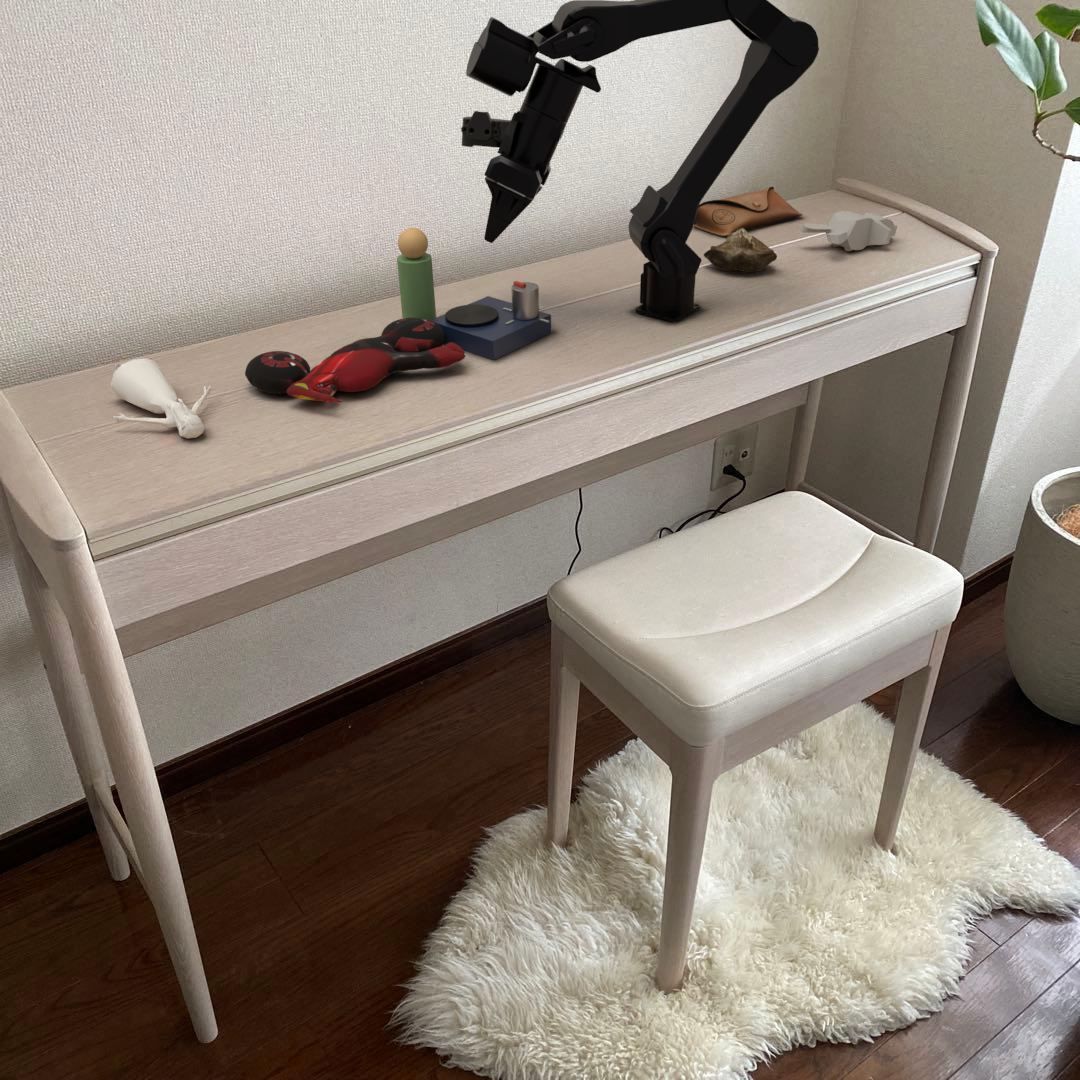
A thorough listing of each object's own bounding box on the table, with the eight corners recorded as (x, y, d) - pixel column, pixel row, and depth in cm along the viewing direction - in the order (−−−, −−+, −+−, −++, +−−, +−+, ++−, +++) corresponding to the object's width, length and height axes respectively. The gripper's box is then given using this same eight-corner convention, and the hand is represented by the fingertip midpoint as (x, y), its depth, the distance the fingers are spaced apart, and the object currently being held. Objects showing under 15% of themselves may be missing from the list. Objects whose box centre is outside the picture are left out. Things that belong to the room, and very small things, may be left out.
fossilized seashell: (696, 258, 152) (763, 278, 150) (713, 213, 151) (780, 233, 149) (704, 270, 159) (768, 289, 157) (720, 227, 159) (784, 246, 156)
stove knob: (544, 314, 135) (543, 283, 133) (527, 322, 133) (526, 290, 131) (524, 308, 137) (523, 277, 135) (507, 316, 135) (505, 285, 133)
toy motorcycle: (241, 391, 126) (285, 422, 114) (232, 349, 124) (276, 375, 112) (429, 349, 138) (488, 373, 125) (424, 310, 135) (483, 330, 123)
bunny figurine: (914, 219, 160) (842, 224, 153) (905, 253, 163) (835, 260, 156) (868, 205, 167) (797, 209, 160) (860, 237, 170) (791, 243, 163)
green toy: (443, 324, 140) (436, 227, 133) (419, 334, 137) (411, 235, 130) (420, 317, 142) (412, 221, 135) (396, 327, 139) (386, 229, 132)
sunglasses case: (727, 235, 167) (715, 194, 166) (700, 249, 173) (687, 208, 172) (806, 214, 175) (795, 175, 175) (777, 227, 182) (766, 189, 181)
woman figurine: (171, 338, 125) (243, 396, 115) (177, 372, 128) (249, 432, 117) (73, 366, 119) (140, 430, 108) (82, 401, 122) (149, 467, 111)
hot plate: (567, 332, 137) (567, 312, 135) (503, 363, 129) (502, 342, 127) (496, 310, 144) (495, 291, 142) (430, 338, 136) (429, 319, 134)
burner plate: (509, 315, 135) (509, 312, 135) (473, 332, 131) (472, 328, 131) (471, 304, 139) (470, 300, 139) (434, 319, 135) (433, 315, 134)
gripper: (492, 81, 133) (445, 198, 139) (471, 83, 116) (419, 217, 122) (572, 121, 134) (522, 235, 141) (563, 129, 117) (506, 259, 124)
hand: (492, 235), depth 132 cm, fingers open, 9 cm apart
